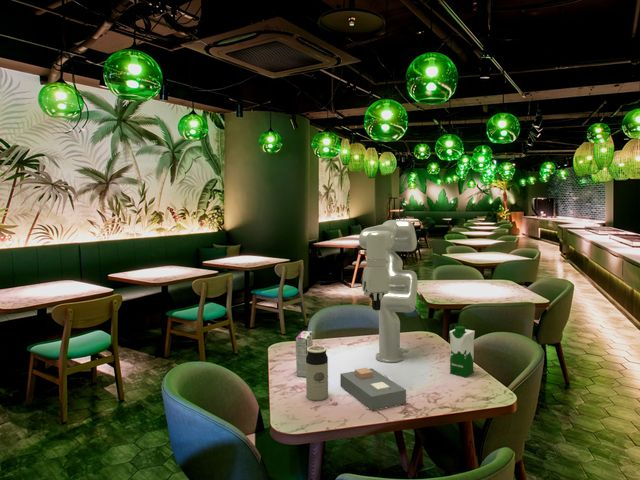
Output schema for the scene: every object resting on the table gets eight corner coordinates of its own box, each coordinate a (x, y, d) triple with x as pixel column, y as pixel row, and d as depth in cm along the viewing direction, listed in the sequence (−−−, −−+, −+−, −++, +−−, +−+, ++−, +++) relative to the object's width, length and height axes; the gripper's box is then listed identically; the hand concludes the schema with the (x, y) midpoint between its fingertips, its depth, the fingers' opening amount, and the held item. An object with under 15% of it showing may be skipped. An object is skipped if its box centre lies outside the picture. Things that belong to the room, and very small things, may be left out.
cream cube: (382, 395, 165) (382, 381, 165) (389, 400, 161) (389, 386, 160) (370, 397, 163) (370, 384, 163) (377, 402, 159) (377, 388, 158)
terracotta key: (366, 380, 176) (366, 367, 176) (372, 384, 171) (372, 371, 171) (354, 382, 174) (354, 369, 174) (361, 386, 169) (361, 373, 169)
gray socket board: (371, 380, 181) (371, 368, 181) (406, 403, 159) (406, 389, 159) (340, 386, 176) (340, 373, 175) (371, 411, 154) (371, 396, 153)
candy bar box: (302, 367, 197) (301, 330, 196) (313, 368, 196) (312, 331, 195) (295, 376, 186) (295, 337, 185) (307, 377, 185) (307, 338, 184)
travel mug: (307, 392, 170) (306, 345, 169) (328, 392, 170) (327, 345, 169) (305, 400, 162) (305, 351, 161) (327, 401, 162) (327, 351, 161)
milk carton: (447, 373, 188) (447, 326, 187) (457, 368, 194) (457, 322, 193) (467, 378, 182) (467, 330, 181) (476, 372, 188) (477, 325, 187)
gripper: (387, 261, 183) (387, 306, 184) (354, 263, 177) (355, 309, 178) (397, 263, 176) (397, 309, 177) (364, 265, 170) (364, 313, 171)
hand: (376, 309), depth 178 cm, fingers closed
